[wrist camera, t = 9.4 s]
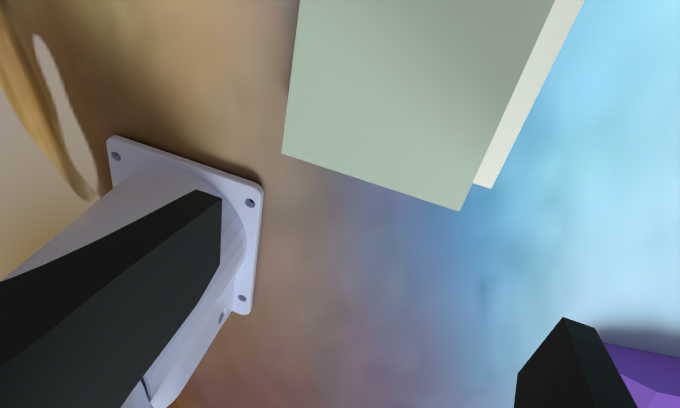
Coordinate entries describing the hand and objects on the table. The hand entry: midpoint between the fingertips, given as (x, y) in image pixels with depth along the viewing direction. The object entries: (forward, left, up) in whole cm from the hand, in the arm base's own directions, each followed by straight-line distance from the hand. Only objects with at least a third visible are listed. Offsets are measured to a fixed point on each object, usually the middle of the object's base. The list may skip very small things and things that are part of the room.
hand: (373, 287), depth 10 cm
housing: (+3, +1, -8) cm, 9 cm away
